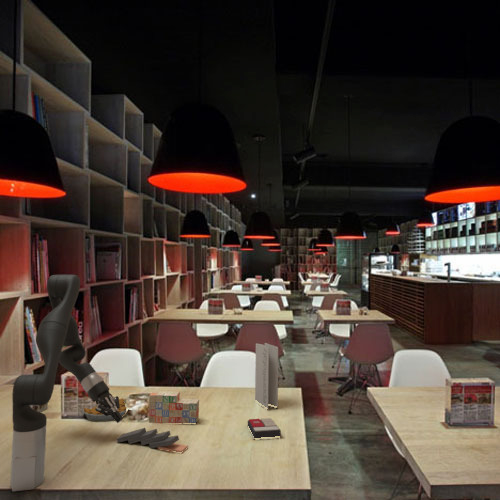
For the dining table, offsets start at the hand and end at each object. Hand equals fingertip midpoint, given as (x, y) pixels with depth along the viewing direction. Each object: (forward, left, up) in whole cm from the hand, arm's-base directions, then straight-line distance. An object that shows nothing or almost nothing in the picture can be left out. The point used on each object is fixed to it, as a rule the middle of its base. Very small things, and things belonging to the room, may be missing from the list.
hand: (120, 420), depth 159 cm
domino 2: (-2, -5, -7) cm, 8 cm away
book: (-4, -58, -8) cm, 59 cm away
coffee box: (+42, +41, -8) cm, 59 cm away
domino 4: (-8, -13, -7) cm, 17 cm away
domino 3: (-5, -10, -6) cm, 13 cm away
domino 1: (0, 0, -7) cm, 7 cm away
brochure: (+28, -68, -8) cm, 74 cm away
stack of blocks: (+16, -22, -8) cm, 28 cm away
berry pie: (+32, +8, -8) cm, 34 cm away
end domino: (-9, -16, -7) cm, 20 cm away
